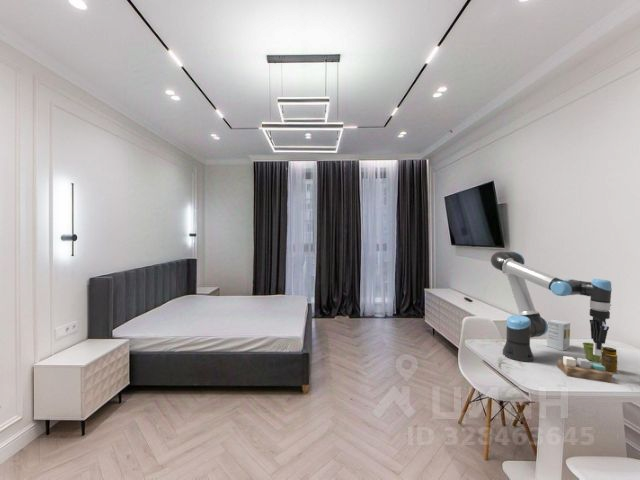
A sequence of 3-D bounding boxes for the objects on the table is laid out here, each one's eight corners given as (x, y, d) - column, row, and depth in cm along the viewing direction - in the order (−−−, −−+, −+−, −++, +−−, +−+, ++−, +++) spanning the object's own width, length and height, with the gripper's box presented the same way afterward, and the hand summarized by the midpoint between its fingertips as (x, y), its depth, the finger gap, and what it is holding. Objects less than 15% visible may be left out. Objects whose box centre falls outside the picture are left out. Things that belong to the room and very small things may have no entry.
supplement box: (563, 351, 186) (563, 324, 185) (546, 346, 194) (546, 320, 194) (569, 348, 190) (570, 322, 190) (553, 343, 198) (553, 319, 198)
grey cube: (580, 368, 151) (580, 360, 151) (576, 365, 155) (577, 357, 155) (590, 369, 150) (590, 362, 150) (586, 366, 154) (586, 359, 154)
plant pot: (608, 364, 167) (608, 348, 167) (589, 362, 168) (589, 347, 168) (596, 357, 176) (596, 343, 176) (578, 356, 178) (578, 341, 178)
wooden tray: (567, 375, 150) (567, 368, 150) (557, 366, 161) (557, 359, 161) (612, 382, 144) (612, 374, 144) (598, 372, 155) (599, 365, 155)
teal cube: (595, 374, 149) (595, 366, 149) (591, 370, 153) (591, 363, 153) (605, 375, 148) (605, 367, 148) (600, 372, 152) (600, 364, 152)
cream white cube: (566, 366, 153) (566, 358, 153) (562, 363, 157) (563, 356, 157) (575, 367, 152) (575, 360, 152) (572, 364, 156) (572, 357, 156)
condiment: (621, 373, 155) (622, 350, 155) (609, 374, 154) (610, 351, 154) (605, 367, 163) (605, 345, 163) (593, 368, 161) (594, 346, 161)
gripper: (616, 313, 143) (613, 361, 143) (602, 307, 155) (599, 351, 156) (597, 311, 146) (594, 358, 146) (584, 305, 158) (581, 349, 158)
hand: (597, 354), depth 151 cm, fingers closed
